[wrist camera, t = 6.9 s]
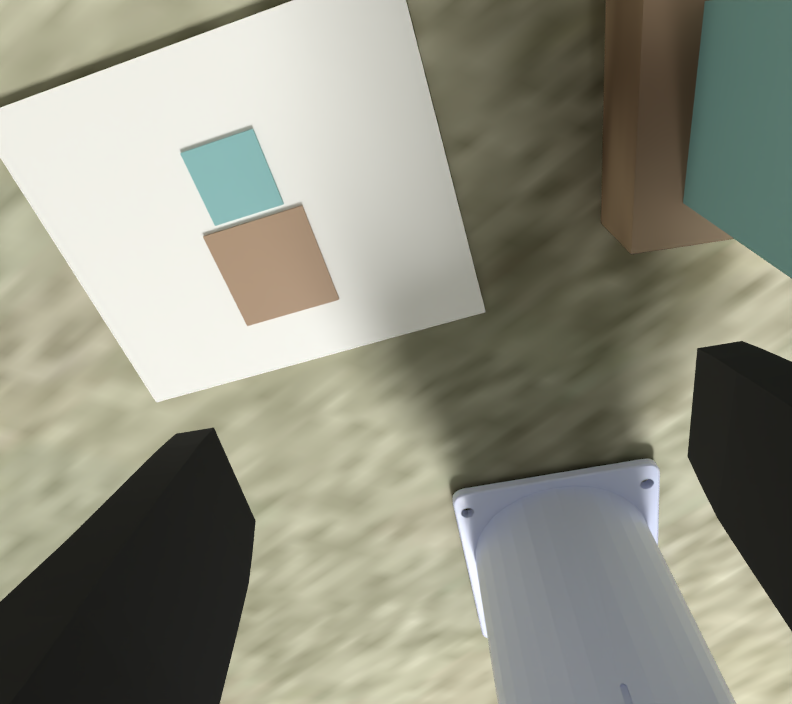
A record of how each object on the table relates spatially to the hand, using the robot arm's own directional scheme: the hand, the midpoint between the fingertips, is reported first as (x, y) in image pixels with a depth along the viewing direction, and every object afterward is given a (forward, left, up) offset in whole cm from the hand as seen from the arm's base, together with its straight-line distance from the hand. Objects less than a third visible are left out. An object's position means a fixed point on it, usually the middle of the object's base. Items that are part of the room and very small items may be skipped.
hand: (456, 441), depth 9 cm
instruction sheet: (+1, +5, -10) cm, 12 cm away
